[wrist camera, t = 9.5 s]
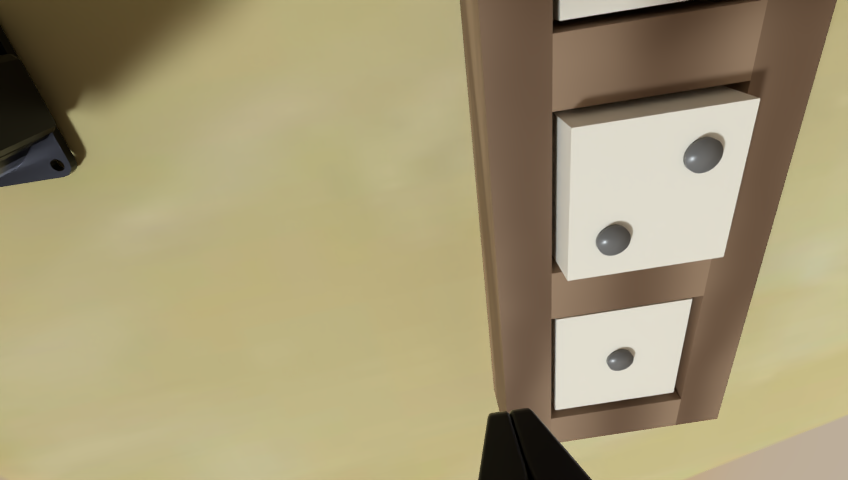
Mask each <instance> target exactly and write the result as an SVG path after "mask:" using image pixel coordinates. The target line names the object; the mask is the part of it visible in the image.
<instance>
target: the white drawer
mask: <svg viewBox="0 0 848 480" xmlns="http://www.w3.org/2000/svg"><path fill="white" fill-rule="evenodd" d="M691 303H692V298H685V299H679V300H672V301H666V302H659V303H653V304H646V305H640V306H633V307H627V308H620V309H613V310H607V311H600V312H594V313H587V314H581V315H574V316H568V317H561V318H555V319H551V400H552V402H553V405H554V408H555V410H560V409H567V408H574V407H580V406H587V405H593V404H600V403H607V402H613V401H620V400H626V399H633V398H640V397H646V396H653V395H659V394H666V393H673V392H674V387H675V382H676V377H677V372H678V367H679V363H680V358H681V353H682V348H683V343H684V338H685V333H686V328H687V323H688V318H689V313H690V308H691Z"/></svg>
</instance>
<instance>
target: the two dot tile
mask: <svg viewBox="0 0 848 480" xmlns="http://www.w3.org/2000/svg"><path fill="white" fill-rule="evenodd" d="M759 103H760V98H758V97H755V96H752V95H749V94H746V93H743V92H740V91H737V90H734V89H731V88H728V87H725V86H722V85H719V86H713V87H706V88H700V89H694V90H687V91H681V92H675V93H669V94H662V95H656V96H650V97H643V98H637V99H631V100H624V101H618V102H612V103H605V104H599V105H593V106H587V107H580V108H574V109H568V110H561V111H555V112H552V255H553V257H554V259H555V260H556V262H557V264H558V266H559V267H560V269H561V271H562V272H563V274H564V276H565V278H566V279H567V281H571V280H577V279H584V278H590V277H597V276H603V275H610V274H616V273H623V272H629V271H635V270H642V269H648V268H655V267H661V266H668V265H674V264H681V263H687V262H694V261H700V260H707V259H713V258H720V257H724V253H725V249H726V244H727V240H728V236H729V231H730V227H731V223H732V219H733V214H734V210H735V206H736V201H737V197H738V193H739V189H740V184H741V180H742V176H743V171H744V167H745V163H746V158H747V154H748V150H749V146H750V141H751V137H752V133H753V128H754V124H755V120H756V116H757V111H758V107H759Z"/></svg>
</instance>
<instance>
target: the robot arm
mask: <svg viewBox="0 0 848 480" xmlns="http://www.w3.org/2000/svg"><path fill="white" fill-rule="evenodd" d="M56 159H57V160H59V161H61V162H62V163H63V164H64V167H65V168H64V167H62V166H60V165H59V164H58V163H57V160H56ZM76 168H77V163H76V160H75V158H74V156H73V155H72V153H71V151H70V149H69V147H68V146H67V144H66V142H65V140H64V138H63V137H62V135H61V133H60V131H59V130H58V128H57V126H56V123H55V121H54V119H53V117H52V115H51V114H50V112H49V110H48V108H47V106H46V105H45V103H44V101H43V99H42V97H41V96H40V94H39V92H38V90H37V89H36V87H35V85H34V83H33V81H32V80H31V78H30V76H29V74H28V72H27V71H26V69H25V67H24V65H23V63H22V62H21V60H20V59H19V58H18V56H17V54H16V53H15V51H14V49H13V47H12V45H11V44H10V42H9V40H8V38H7V36H6V35H5V33H4V31H3V29H2V27H1V26H0V187H3V186H9V185H16V184H22V183H28V182H34V181H41V180H47V179H53V178H60V177H65V176H67V175H69V174H71V173H72V172H74V171H75V170H76ZM478 480H592V479H591V478H590V477H589V476H588V475H587V474H586V472H585V471H584V470H583V469H582V468H581V467H580V465H579V464H578V463H577V462H576V461H575V460H574V458H573V457H572V456H571V455H570V454H569V453H568V451H567V450H566V449H565V448H564V447H563V446H562V444H561V443H560V442H559V441H558V440H557V439H556V437H555V436H554V435H553V434H552V433H551V432H550V430H549V429H548V428H547V427H546V426H545V425H544V423H543V422H542V421H541V420H540V419H539V418H538V416H537V415H536V414H535V413H534V412H533V411H532V410H531V409H530V408H522V409H515V410H511V411H510V414H509V412H507V411H502V412H495V413H490V414H489V416H488V420H487V426H486V433H485V439H484V446H483V452H482V459H481V466H480V472H479V479H478Z"/></svg>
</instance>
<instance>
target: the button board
mask: <svg viewBox="0 0 848 480" xmlns="http://www.w3.org/2000/svg"><path fill="white" fill-rule="evenodd" d="M836 1H837V0H686V1H680V2H674V3H668V4H661V5H655V6H649V7H643V8H636V9H630V10H624V11H618V12H611V13H605V14H599V15H593V16H587V17H580V18H574V19H568V20H562V21H559V20H555V19H553V0H460V6H461V17H462V29H463V40H464V51H465V63H466V74H467V86H468V97H469V108H470V120H471V131H472V142H473V154H474V165H475V177H476V188H477V199H478V211H479V222H480V233H481V245H482V256H483V267H484V279H485V290H486V302H487V313H488V324H489V336H490V347H491V358H492V370H493V381H494V391H495V395H496V399H497V403H498V407H499V411H500V412H502V411H507V412H509V414H510V411H511V410H515V409H522V408H530V409H531V410H532V411H533V412H534V413H535V414H536V415H537V416H538V418H539V419H540V420H541V421H542V422H543V423H544V425H545V426H546V427H547V428H548V429H549V430H550V432H551V433H552V434H553V435H554V436H555V437H556V439H557V440H558V441H559V442H565V441H572V440H578V439H585V438H592V437H598V436H605V435H612V434H618V433H625V432H631V431H638V430H645V429H651V428H658V427H665V426H671V425H678V424H685V423H691V422H698V421H704V420H711V419H717V417H718V414H719V410H720V407H721V403H722V400H723V396H724V393H725V389H726V386H727V382H728V379H729V375H730V372H731V368H732V365H733V361H734V358H735V354H736V351H737V347H738V344H739V340H740V337H741V333H742V330H743V326H744V323H745V319H746V316H747V312H748V309H749V305H750V302H751V298H752V295H753V291H754V288H755V284H756V281H757V277H758V274H759V270H760V267H761V263H762V260H763V256H764V253H765V249H766V246H767V242H768V239H769V235H770V232H771V229H772V225H773V222H774V218H775V215H776V211H777V208H778V204H779V201H780V197H781V194H782V190H783V187H784V183H785V180H786V176H787V173H788V169H789V166H790V162H791V159H792V155H793V152H794V148H795V145H796V141H797V138H798V134H799V131H800V127H801V124H802V120H803V117H804V113H805V110H806V106H807V103H808V99H809V96H810V92H811V89H812V85H813V82H814V78H815V75H816V71H817V68H818V64H819V61H820V57H821V54H822V50H823V47H824V43H825V40H826V36H827V33H828V29H829V26H830V22H831V19H832V15H833V12H834V8H835V5H836ZM719 85H722V86H725V87H728V88H731V89H734V90H737V91H740V92H743V93H746V94H749V95H752V96H755V97H758V98H760V103H759V107H758V111H757V116H756V120H755V124H754V128H753V133H752V137H751V141H750V146H749V150H748V154H747V158H746V163H745V167H744V171H743V176H742V180H741V184H740V189H739V193H738V197H737V201H736V206H735V210H734V214H733V219H732V223H731V227H730V231H729V236H728V240H727V244H726V249H725V253H724V257H720V258H713V259H707V260H700V261H694V262H687V263H681V264H674V265H668V266H661V267H655V268H648V269H642V270H635V271H629V272H623V273H616V274H610V275H603V276H597V277H590V278H584V279H577V280H571V281H567V279H566V278H565V276H564V274H563V272H562V271H561V269H560V267H559V266H558V264H557V262H556V260H555V259H554V257H553V255H552V112H555V111H561V110H568V109H574V108H580V107H587V106H593V105H599V104H605V103H612V102H618V101H624V100H631V99H637V98H643V97H650V96H656V95H662V94H669V93H675V92H681V91H687V90H694V89H700V88H706V87H713V86H719ZM685 298H692V303H691V308H690V313H689V318H688V323H687V328H686V333H685V338H684V343H683V348H682V353H681V358H680V363H679V367H678V372H677V377H676V382H675V387H674V392H673V393H666V394H659V395H653V396H646V397H640V398H633V399H626V400H620V401H613V402H607V403H600V404H593V405H587V406H580V407H574V408H567V409H560V410H555V408H554V405H553V402H552V400H551V319H555V318H561V317H568V316H574V315H581V314H587V313H594V312H600V311H607V310H613V309H620V308H627V307H633V306H640V305H646V304H653V303H659V302H666V301H672V300H679V299H685Z"/></svg>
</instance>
